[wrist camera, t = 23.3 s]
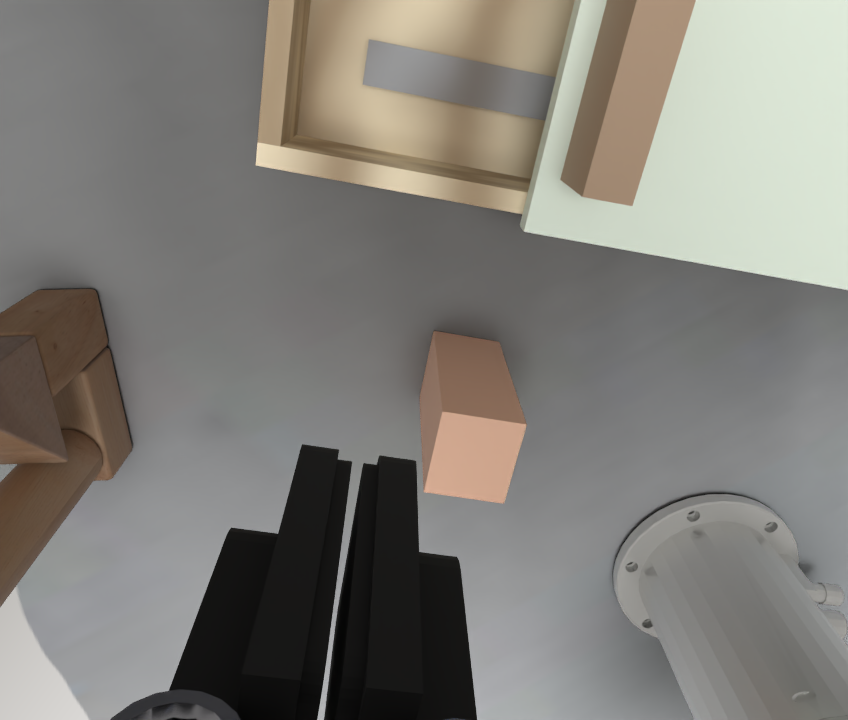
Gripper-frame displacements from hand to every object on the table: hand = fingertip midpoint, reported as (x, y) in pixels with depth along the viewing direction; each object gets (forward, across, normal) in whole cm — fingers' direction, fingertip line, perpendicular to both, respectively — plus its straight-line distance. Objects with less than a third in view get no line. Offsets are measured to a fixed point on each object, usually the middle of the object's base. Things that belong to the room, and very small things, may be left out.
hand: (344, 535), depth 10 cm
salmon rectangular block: (+29, -6, +10) cm, 31 cm away
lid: (+23, -17, -8) cm, 29 cm away
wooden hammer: (+29, +16, +14) cm, 36 cm away
